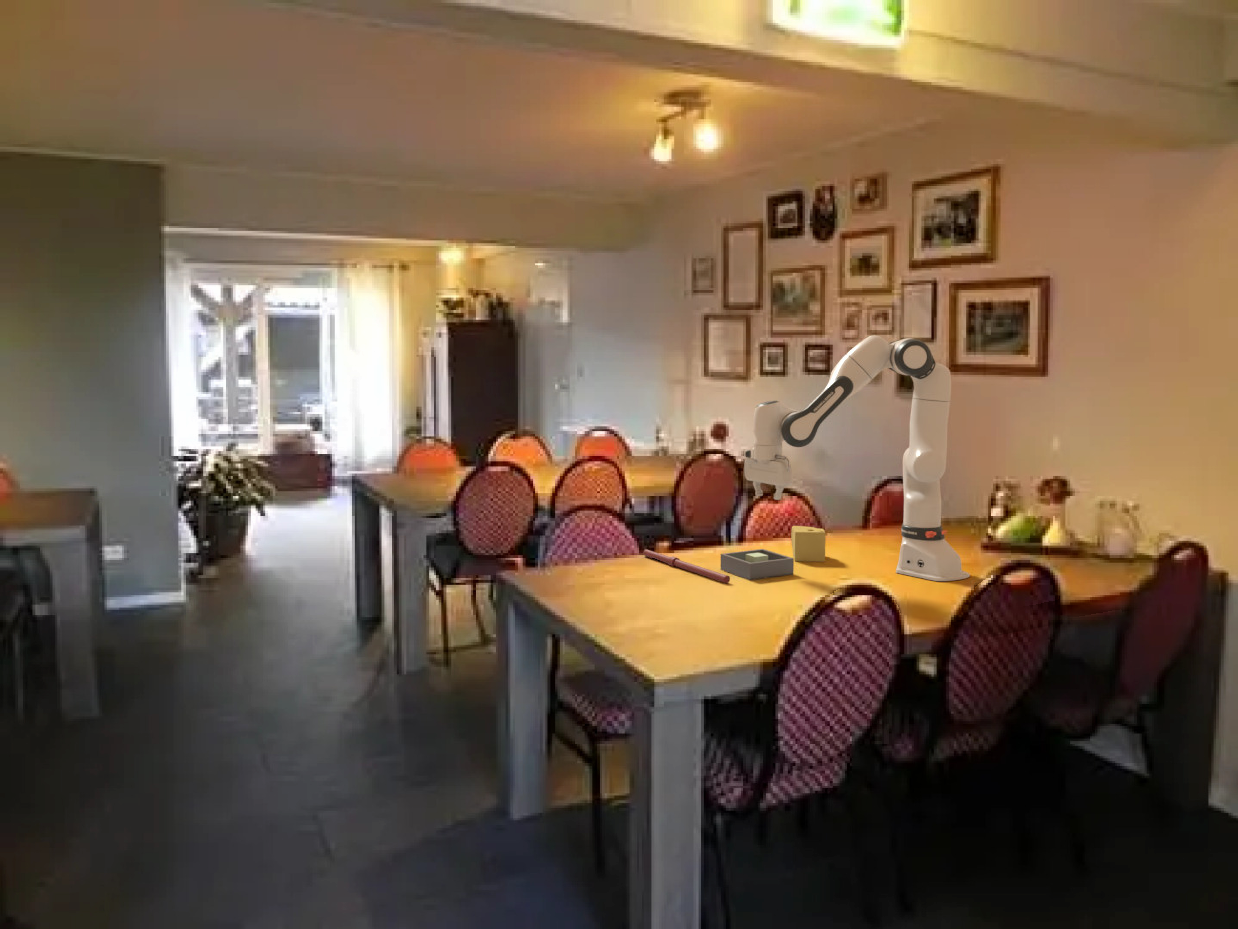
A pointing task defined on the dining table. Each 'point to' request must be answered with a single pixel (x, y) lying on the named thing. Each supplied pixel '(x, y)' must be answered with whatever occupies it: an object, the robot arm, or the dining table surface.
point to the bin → (757, 565)
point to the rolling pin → (687, 566)
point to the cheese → (808, 544)
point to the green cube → (756, 557)
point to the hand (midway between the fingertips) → (768, 497)
